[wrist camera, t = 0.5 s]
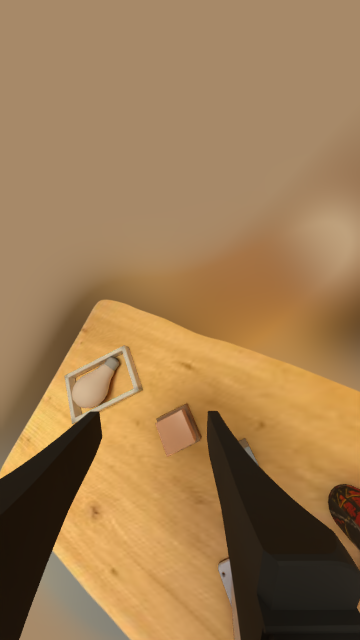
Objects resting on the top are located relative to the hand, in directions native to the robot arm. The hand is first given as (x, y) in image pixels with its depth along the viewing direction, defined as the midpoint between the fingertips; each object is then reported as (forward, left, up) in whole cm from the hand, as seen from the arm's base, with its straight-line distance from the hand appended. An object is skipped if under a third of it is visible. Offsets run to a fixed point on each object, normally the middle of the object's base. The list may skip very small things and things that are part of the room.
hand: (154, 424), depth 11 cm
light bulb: (+11, +17, -24) cm, 31 cm away
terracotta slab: (-4, +5, -22) cm, 23 cm away
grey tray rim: (+10, +17, -24) cm, 31 cm away
